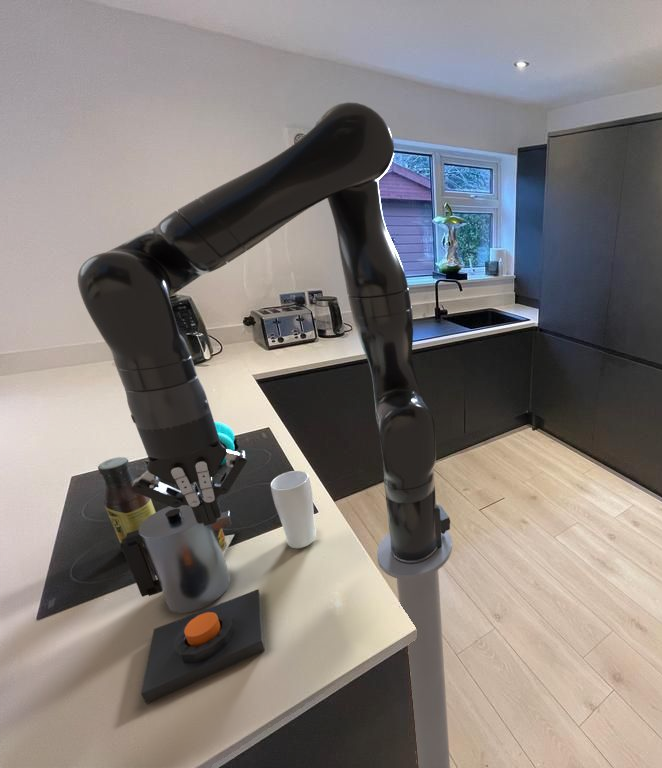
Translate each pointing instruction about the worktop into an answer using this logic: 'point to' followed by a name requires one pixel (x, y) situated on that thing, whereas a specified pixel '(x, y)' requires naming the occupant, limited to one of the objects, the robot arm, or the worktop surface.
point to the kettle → (178, 558)
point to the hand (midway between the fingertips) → (211, 521)
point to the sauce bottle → (123, 498)
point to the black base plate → (203, 647)
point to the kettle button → (202, 629)
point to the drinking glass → (295, 507)
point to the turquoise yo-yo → (225, 436)
